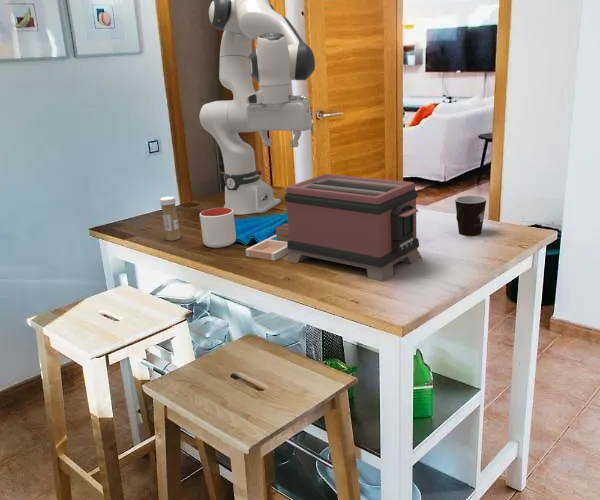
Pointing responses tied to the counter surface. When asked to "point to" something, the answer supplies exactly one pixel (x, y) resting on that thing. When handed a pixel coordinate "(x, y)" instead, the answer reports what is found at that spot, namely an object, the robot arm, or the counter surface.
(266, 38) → the robot arm
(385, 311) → the counter surface
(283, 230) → the walnut block
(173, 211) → the sprinkles bottle
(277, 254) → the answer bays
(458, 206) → the coffee mug
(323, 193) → the toaster
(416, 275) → the counter surface
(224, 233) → the cup
